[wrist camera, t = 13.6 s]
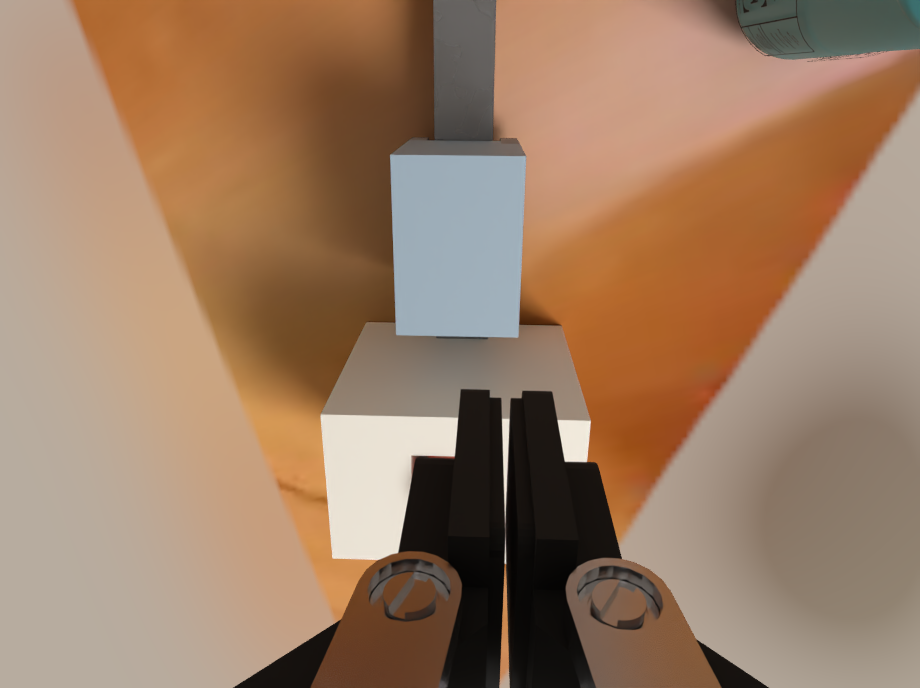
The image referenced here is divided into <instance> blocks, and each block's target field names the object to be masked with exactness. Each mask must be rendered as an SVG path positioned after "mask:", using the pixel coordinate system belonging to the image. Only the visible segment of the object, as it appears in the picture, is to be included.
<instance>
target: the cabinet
mask: <svg viewBox="0 0 920 688" xmlns="http://www.w3.org/2000/svg"><path fill="white" fill-rule="evenodd" d="M461 389H481V390H490V397H493V398H501V400H502V434H503V468H504V502H505V517H506V492H507V468H508V444H509V420H510V400H511V398H521V397H522V391H552V393H553V398H554V403H555V409H556V415H557V420H558V426H559V431H560V437H561V443H562V448H563V454H564V460H565V462H587V456H588V445H589V434H590V423H591V420H590V417H589V414H588V410H587V407H586V404H585V401H584V397H583V394H582V391H581V387H580V384H579V381H578V378H577V374H576V371H575V368H574V365H573V361H572V358H571V355H570V351H569V348H568V345H567V342H566V338H565V335H564V332H563V329H562V326H553V325H519V335H518V338H511V337H488V339H445V338H436V336H407V335H396V323H391V322H366V324H365V326H364V328H363V330H362V332H361V334H360V336H359V338H358V340H357V342H356V344H355V346H354V348H353V350H352V352H351V354H350V356H349V358H348V360H347V362H346V364H345V366H344V368H343V370H342V372H341V374H340V376H339V378H338V380H337V382H336V384H335V386H334V388H333V390H332V392H331V394H330V396H329V398H328V400H327V402H326V404H325V406H324V409H323V411H322V413H321V426H322V438H323V450H324V462H325V474H326V486H327V498H328V510H329V522H330V533H331V545H332V557H333V558H337V559H370V560H380V559H382V558H384V557H387V556H389V555H391V554H395V553H398V550H399V545H400V539H401V534H402V528H403V523H404V518H405V512H406V507H407V501H408V496H409V490H410V485H411V479H412V474H413V469H414V463H415V459H416V458H417V457H424V458H428V456H455V448H456V437H457V425H458V414H459V403H460V392H461ZM505 564H506V540H505Z"/></svg>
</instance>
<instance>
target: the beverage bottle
mask: <svg viewBox="0 0 920 688" xmlns="http://www.w3.org/2000/svg"><path fill="white" fill-rule="evenodd" d="M736 12H737V14H738V15H737V18H739V19H738V22H740V23H739V25H740V24H741V26H742V27H741V26H740V27H741V30H742V29H743V31H744V32H745V34H746V36H747V37H748V38H749V40H750V41H751V42H752V43H753V44H754V45H755V46H756V47H757V48H758V49H759V50H761V51H762V52H764V53H766V54H768V55H765V56H773V57H776V58H781V59H792V60H794V59H806V58H817V59H818V57H820V58H821V57H823V58H824V57H827V58H828V57H829V58H830V57H831V56H834V57H835V56H836V57H837V56H838V57H839V56H842V55H850V56H851V55H853V54H857V55H858V54H859V55H860V54H863V53H869V54H870V52H872V53H873V52H880V51H886V52H887V51H895V50H911V49H920V0H737V8H736ZM743 31H742V32H743ZM743 34H744V33H743ZM745 34H744V35H745ZM746 36H745V37H746ZM746 39H747V38H746ZM747 40H748V39H747ZM749 43H750V42H749ZM750 44H751V43H750ZM751 45H752V44H751ZM752 46H753V45H752ZM753 47H754V46H753ZM754 48H755V47H754ZM755 49H756V48H755ZM756 50H757V49H756ZM757 51H758V50H757ZM760 53H761V52H760ZM761 54H762V53H761ZM874 54H875V53H874ZM879 54H880V53H879ZM857 55H856V56H857ZM866 55H867V54H866ZM868 56H869V55H868ZM872 56H873V55H872ZM834 57H833V58H834ZM847 57H848V56H847ZM823 58H822V59H823ZM827 58H826V59H827ZM829 58H828V59H829ZM831 58H832V57H831ZM860 58H862V57H860ZM822 59H821V60H820V59H819V60H820V61H823V60H822ZM824 59H825V58H824ZM847 59H851V58H847ZM814 60H815V59H814ZM831 60H832V59H831ZM834 60H837V59H834ZM811 61H812V60H811ZM807 62H810V61H807Z"/></svg>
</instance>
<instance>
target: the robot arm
mask: <svg viewBox="0 0 920 688" xmlns="http://www.w3.org/2000/svg"><path fill="white" fill-rule="evenodd" d="M505 540H506V574H507V609H508V643H509V677H510V688H768V687H767V686H766V685H764V684H762V683H761V682H760V681H758V680H757V679H755V678H753V677H752V676H751V675H749V674H748V673H746V672H744V671H743V670H742V669H740V668H739V667H737V666H736V665H734V664H733V663H731V662H730V661H728V660H727V659H725V658H724V657H722V656H720V655H719V654H717V653H716V652H715V651H713V650H711V649H710V648H709V647H707V646H706V645H704V644H702V643H701V642H699V641H698V640H696V638H695V636H694V634H693V633H692V631H691V629H690V627H689V625H688V623H687V621H686V619H685V617H684V616H683V614H682V612H681V610H680V608H679V606H678V604H677V602H676V600H675V598H674V596H673V595H672V593H671V591H670V590H669V588H668V587H667V586H666V584H665V583H664V582H663V580H662V579H661V578H659V577H658V576H657V575H656V574H654V573H653V572H652V571H650V570H649V569H647V568H645V567H643V566H641V565H639V564H637V563H634V562H631V561H627V560H623V559H622V557H621V554H620V550H619V546H618V542H617V538H616V534H615V530H614V526H613V522H612V518H611V514H610V510H609V506H608V503H607V499H606V495H605V491H604V487H603V483H602V479H601V475H600V471H599V468H598V465H597V463H595V462H565V460H564V454H563V448H562V443H561V437H560V431H559V426H558V420H557V415H556V409H555V403H554V398H553V393H552V391H522V397H521V398H511V400H510V420H509V444H508V468H507V492H506V517H505V502H504V468H503V434H502V400H501V398H493V397H490V390H481V389H461V392H460V403H459V414H458V425H457V437H456V448H455V458H424V457H417V458H416V459H415V463H414V469H413V474H412V479H411V485H410V490H409V496H408V501H407V507H406V512H405V518H404V523H403V528H402V534H401V539H400V545H399V550H398V553H395V554H391V555H389V556H387V557H384V558H382V559H380V560H378V561H376V562H375V563H374V564H373V565H371V566H370V567H369V568H368V569H366V571H365V572H364V574H363V575H362V577H361V578H360V580H359V581H358V584H357V586H356V588H355V590H354V592H353V595H352V597H351V599H350V601H349V603H348V606H347V608H346V610H345V612H344V615H343V617H342V619H341V620H339V621H338V622H336V623H335V624H333V625H332V626H330V627H329V628H327V629H326V630H324V631H322V632H321V633H319V634H317V635H316V636H314V637H313V638H311V639H309V640H308V641H306V642H305V643H303V644H302V645H300V646H298V647H297V648H295V649H294V650H292V651H291V652H289V653H287V654H286V655H284V656H283V657H281V658H279V659H278V660H276V661H275V662H273V663H272V664H270V665H269V666H267V667H265V668H264V669H262V670H261V671H259V672H257V673H256V674H254V675H253V676H251V677H250V678H248V679H246V680H245V681H243V682H242V683H240V684H238V685H237V686H235V687H234V688H499V682H500V659H501V635H502V612H503V588H504V564H505Z"/></svg>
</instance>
